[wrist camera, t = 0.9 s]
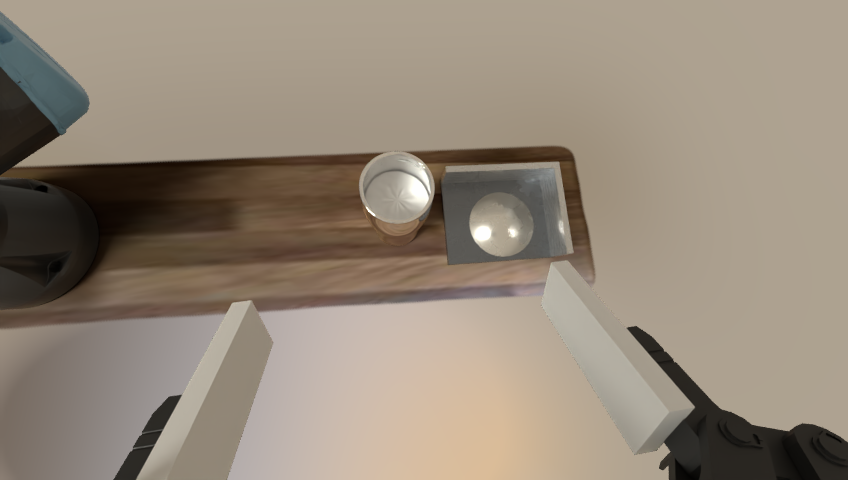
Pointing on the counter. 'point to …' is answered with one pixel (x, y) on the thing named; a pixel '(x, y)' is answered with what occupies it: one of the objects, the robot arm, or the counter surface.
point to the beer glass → (396, 196)
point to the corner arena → (504, 212)
